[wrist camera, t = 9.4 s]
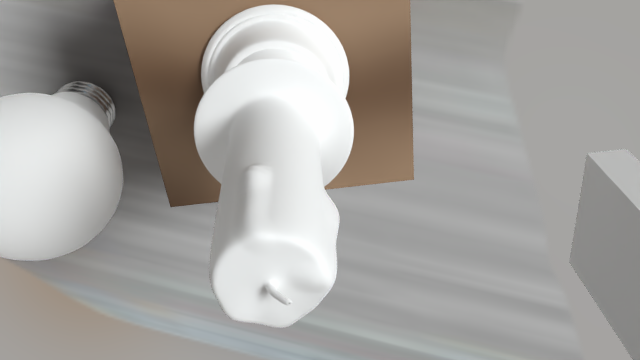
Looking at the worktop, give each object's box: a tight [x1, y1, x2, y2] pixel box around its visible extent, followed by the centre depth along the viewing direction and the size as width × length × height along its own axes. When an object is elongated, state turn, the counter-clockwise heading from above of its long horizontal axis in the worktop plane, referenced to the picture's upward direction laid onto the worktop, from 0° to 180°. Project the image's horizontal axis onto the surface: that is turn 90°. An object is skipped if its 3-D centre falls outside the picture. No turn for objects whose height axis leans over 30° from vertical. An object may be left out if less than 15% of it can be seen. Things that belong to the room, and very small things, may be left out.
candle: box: [194, 4, 354, 328], centre depth 16 cm, size 5×5×12 cm
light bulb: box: [0, 81, 124, 261], centre depth 25 cm, size 7×7×11 cm
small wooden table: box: [113, 0, 414, 207], centre depth 25 cm, size 10×10×8 cm
